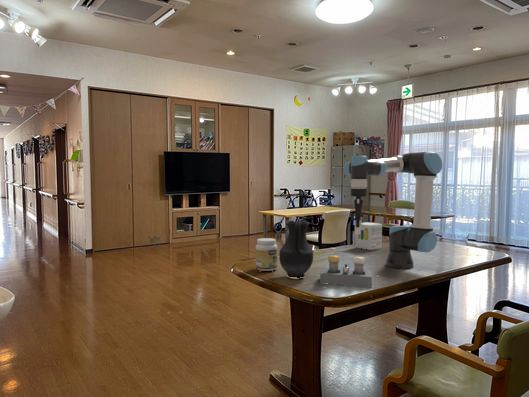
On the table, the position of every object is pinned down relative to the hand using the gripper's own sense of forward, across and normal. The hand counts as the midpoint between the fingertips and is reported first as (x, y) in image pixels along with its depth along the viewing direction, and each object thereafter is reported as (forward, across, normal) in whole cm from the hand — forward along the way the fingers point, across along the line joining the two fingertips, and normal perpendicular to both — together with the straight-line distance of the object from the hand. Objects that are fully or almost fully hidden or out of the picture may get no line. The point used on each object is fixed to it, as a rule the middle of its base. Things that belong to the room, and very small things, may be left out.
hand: (358, 232), depth 190 cm
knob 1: (+20, +1, -11) cm, 23 cm away
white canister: (+25, -95, +4) cm, 98 cm away
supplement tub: (+25, -14, -50) cm, 57 cm away
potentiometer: (+20, +3, -5) cm, 21 cm away
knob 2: (+20, 0, +1) cm, 20 cm away
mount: (+25, 0, -5) cm, 25 cm away
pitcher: (+25, -1, -30) cm, 39 cm away
